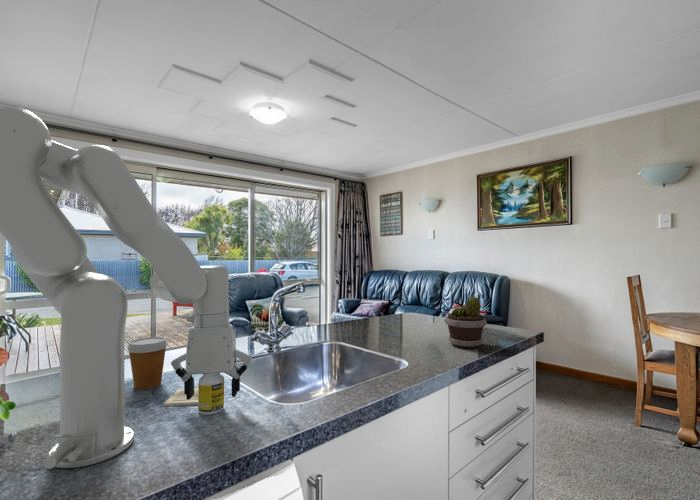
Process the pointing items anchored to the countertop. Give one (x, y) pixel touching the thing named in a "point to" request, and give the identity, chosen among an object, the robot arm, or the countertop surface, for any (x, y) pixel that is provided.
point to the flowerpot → (466, 324)
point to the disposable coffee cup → (147, 361)
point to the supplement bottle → (211, 393)
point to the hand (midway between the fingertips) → (212, 395)
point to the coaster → (182, 398)
